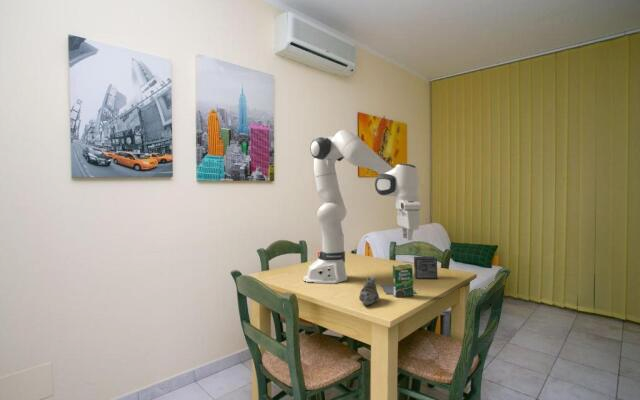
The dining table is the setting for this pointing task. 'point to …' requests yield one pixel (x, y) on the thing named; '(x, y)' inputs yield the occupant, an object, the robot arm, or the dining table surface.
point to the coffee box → (402, 280)
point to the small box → (425, 267)
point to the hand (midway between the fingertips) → (407, 238)
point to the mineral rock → (369, 292)
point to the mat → (390, 289)
